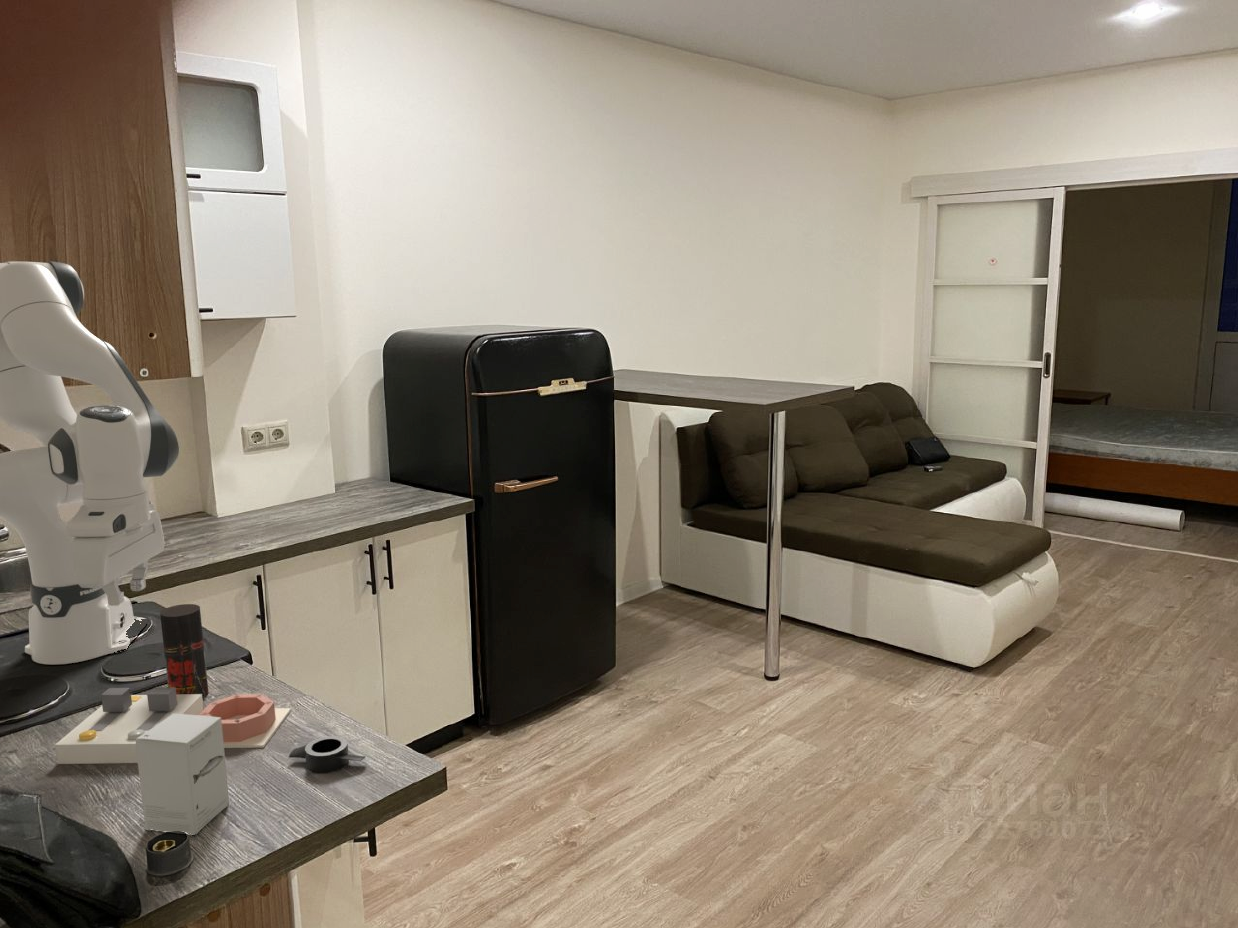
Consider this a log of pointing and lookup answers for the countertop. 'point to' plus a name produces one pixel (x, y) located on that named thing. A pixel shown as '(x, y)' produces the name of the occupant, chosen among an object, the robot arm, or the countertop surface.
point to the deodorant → (184, 649)
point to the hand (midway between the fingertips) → (127, 596)
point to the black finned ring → (325, 754)
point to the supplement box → (182, 773)
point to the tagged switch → (116, 700)
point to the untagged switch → (162, 699)
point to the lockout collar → (247, 719)
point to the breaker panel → (118, 731)
